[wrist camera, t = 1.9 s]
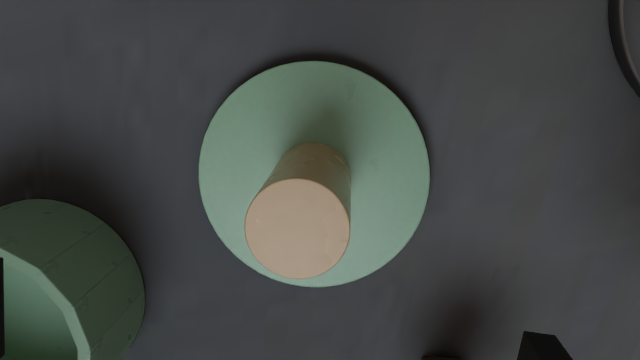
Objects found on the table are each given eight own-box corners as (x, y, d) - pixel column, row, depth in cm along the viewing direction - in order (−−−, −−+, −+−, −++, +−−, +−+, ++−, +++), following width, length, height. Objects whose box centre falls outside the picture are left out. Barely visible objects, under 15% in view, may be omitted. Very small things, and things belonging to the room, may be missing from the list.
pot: (150, 213, 33) (93, 258, 26) (140, 387, 36) (87, 472, 29) (-45, 186, 33) (-155, 222, 26) (-38, 361, 36) (-136, 438, 29)
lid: (445, 76, 30) (492, 87, 20) (407, 293, 33) (430, 395, 23) (212, 46, 31) (145, 42, 21) (196, 263, 34) (130, 350, 24)
